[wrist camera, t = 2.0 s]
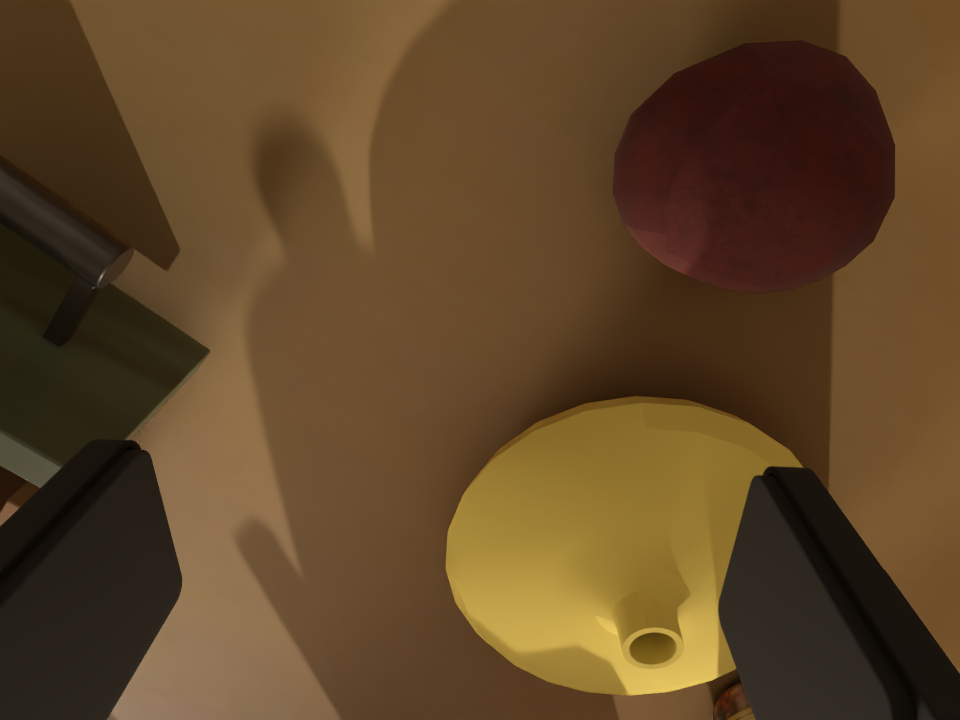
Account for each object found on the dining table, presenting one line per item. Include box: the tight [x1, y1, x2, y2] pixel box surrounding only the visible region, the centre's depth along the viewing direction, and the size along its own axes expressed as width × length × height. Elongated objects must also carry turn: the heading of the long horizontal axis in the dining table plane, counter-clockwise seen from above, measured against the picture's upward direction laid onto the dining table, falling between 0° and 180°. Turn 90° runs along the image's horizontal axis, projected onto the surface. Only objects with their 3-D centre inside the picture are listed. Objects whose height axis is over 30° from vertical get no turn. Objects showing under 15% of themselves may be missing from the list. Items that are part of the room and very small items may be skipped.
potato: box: [613, 41, 895, 293], centre depth 19 cm, size 7×8×6 cm
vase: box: [446, 396, 804, 696], centre depth 26 cm, size 16×16×7 cm
